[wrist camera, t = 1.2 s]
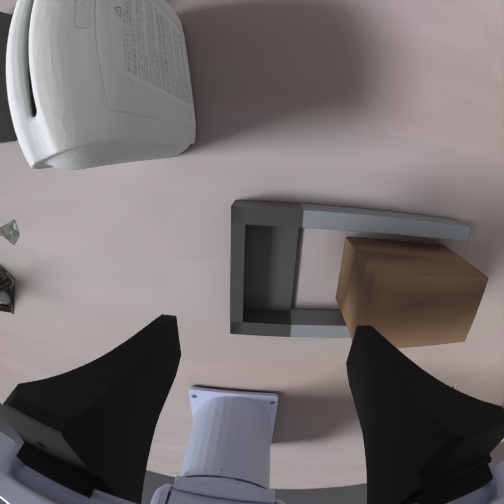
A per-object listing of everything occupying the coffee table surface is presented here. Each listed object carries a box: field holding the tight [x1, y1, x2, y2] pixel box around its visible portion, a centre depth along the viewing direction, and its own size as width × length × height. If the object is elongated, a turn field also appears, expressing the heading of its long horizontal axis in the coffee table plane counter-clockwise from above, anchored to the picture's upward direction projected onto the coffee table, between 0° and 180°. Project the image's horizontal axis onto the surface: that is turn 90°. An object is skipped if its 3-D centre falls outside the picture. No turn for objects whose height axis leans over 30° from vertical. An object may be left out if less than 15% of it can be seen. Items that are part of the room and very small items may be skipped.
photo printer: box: [6, 0, 196, 170], centre depth 10 cm, size 10×4×12 cm, turn 8°
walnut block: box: [336, 237, 488, 348], centre depth 16 cm, size 4×8×6 cm, turn 88°
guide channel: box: [230, 200, 471, 338], centre depth 18 cm, size 8×16×2 cm, turn 88°
